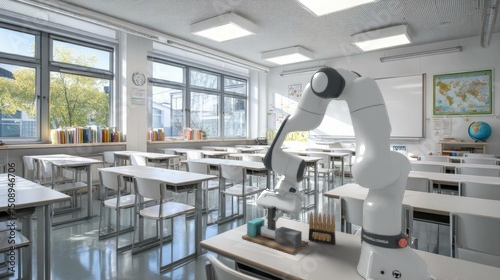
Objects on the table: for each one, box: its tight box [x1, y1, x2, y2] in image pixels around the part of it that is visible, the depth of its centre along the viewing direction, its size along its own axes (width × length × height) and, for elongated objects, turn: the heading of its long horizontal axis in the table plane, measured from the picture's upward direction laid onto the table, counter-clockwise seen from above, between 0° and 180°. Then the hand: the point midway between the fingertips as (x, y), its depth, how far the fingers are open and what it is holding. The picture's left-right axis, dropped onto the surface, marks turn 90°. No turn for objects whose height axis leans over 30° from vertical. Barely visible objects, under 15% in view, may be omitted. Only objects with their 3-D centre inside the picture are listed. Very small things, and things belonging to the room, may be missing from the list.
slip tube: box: [261, 206, 279, 239], centre depth 119 cm, size 14×3×12 cm, turn 51°
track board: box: [241, 226, 309, 255], centre depth 120 cm, size 24×12×6 cm, turn 50°
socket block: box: [246, 217, 265, 237], centre depth 126 cm, size 4×7×6 cm, turn 141°
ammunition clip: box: [308, 211, 337, 246], centre depth 119 cm, size 11×2×12 cm, turn 64°
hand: (270, 219), depth 120 cm, fingers closed on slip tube, 2 cm apart
